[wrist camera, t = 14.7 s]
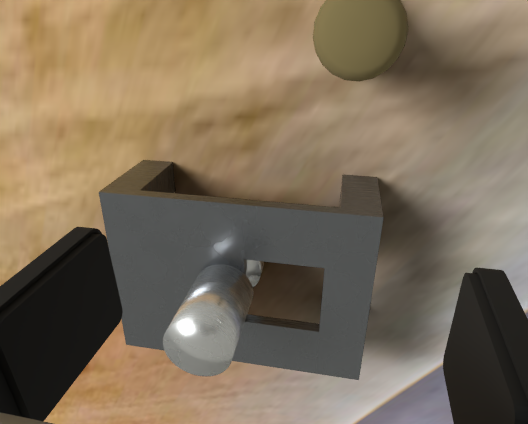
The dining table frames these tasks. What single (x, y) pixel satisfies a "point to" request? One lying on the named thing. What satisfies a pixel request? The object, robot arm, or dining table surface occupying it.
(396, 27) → the cork
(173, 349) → the peg
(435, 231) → the dining table surface
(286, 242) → the grey windowed bracket
